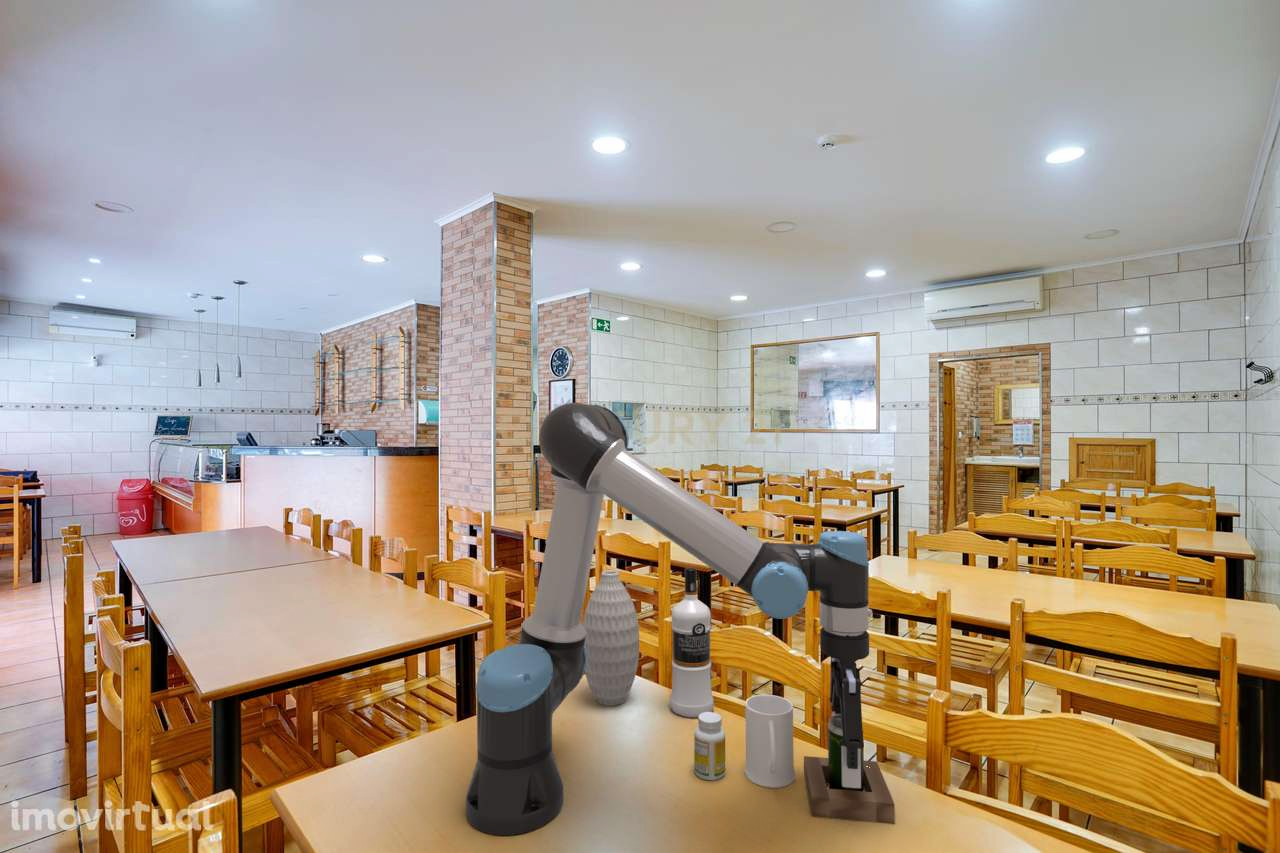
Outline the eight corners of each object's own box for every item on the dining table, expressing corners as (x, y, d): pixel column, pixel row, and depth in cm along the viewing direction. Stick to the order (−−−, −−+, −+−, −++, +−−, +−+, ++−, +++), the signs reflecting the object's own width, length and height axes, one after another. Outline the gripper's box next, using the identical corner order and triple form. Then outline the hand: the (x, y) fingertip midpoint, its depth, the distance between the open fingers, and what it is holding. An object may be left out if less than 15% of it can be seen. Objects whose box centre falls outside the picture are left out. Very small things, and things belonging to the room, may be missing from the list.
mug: (796, 802, 98) (796, 726, 98) (742, 796, 99) (741, 721, 100) (794, 763, 109) (793, 695, 109) (745, 758, 111) (745, 691, 111)
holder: (812, 816, 94) (811, 796, 94) (803, 773, 106) (803, 756, 106) (894, 823, 92) (894, 803, 92) (877, 779, 104) (876, 761, 104)
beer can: (870, 804, 97) (870, 728, 97) (840, 809, 96) (839, 732, 96) (851, 785, 102) (850, 713, 102) (822, 790, 101) (821, 716, 101)
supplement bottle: (695, 781, 104) (695, 724, 104) (693, 764, 109) (692, 709, 109) (727, 781, 104) (727, 724, 104) (723, 764, 109) (723, 709, 109)
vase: (619, 718, 127) (618, 581, 127) (570, 704, 134) (569, 574, 134) (650, 695, 138) (649, 569, 138) (603, 683, 144) (602, 563, 145)
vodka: (705, 698, 136) (704, 562, 137) (719, 716, 127) (718, 571, 128) (665, 702, 134) (664, 564, 135) (676, 721, 125) (675, 574, 126)
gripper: (884, 653, 88) (886, 812, 88) (855, 610, 109) (857, 737, 109) (830, 651, 89) (831, 807, 89) (812, 608, 111) (813, 734, 110)
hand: (845, 768), depth 99 cm, fingers open, 9 cm apart
